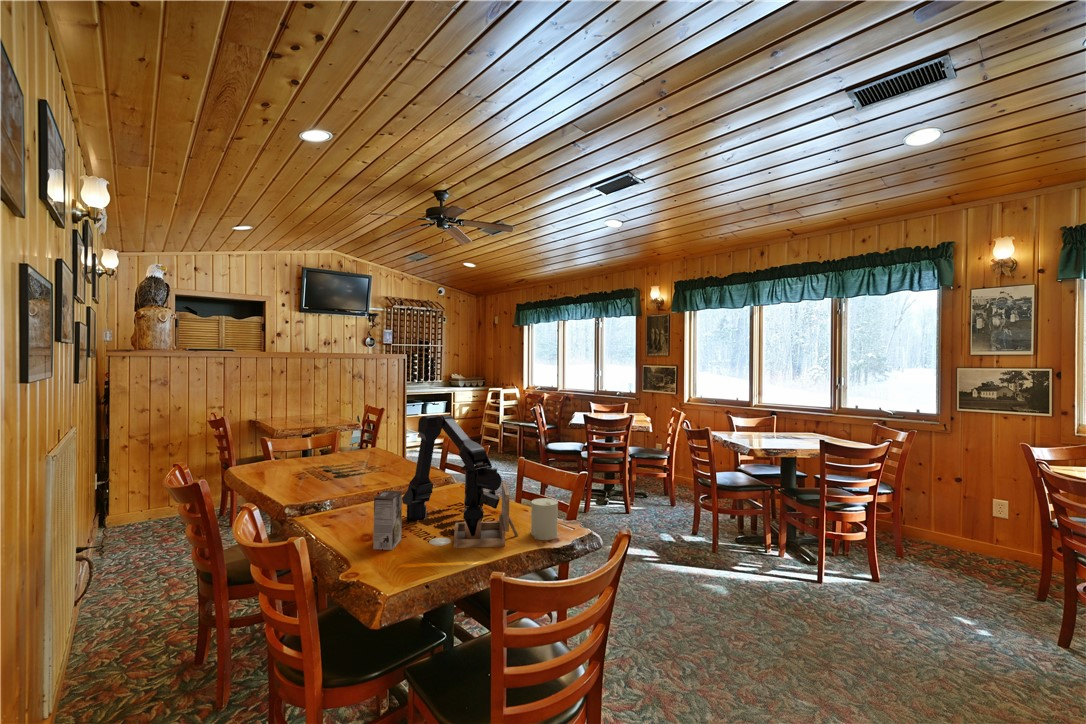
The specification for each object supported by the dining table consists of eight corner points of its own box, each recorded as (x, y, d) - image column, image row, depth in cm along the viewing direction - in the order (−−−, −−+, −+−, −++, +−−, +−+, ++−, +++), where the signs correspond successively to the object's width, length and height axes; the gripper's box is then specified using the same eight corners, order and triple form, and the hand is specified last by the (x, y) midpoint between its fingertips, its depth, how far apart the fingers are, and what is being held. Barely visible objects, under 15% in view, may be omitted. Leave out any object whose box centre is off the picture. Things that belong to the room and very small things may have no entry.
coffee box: (382, 539, 168) (383, 490, 168) (401, 540, 168) (402, 490, 168) (372, 549, 159) (373, 497, 159) (392, 550, 159) (393, 498, 159)
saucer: (427, 548, 161) (427, 545, 161) (429, 540, 168) (429, 538, 168) (450, 547, 162) (450, 545, 162) (451, 539, 169) (451, 537, 169)
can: (539, 542, 168) (540, 505, 168) (525, 533, 176) (526, 498, 176) (563, 537, 173) (563, 501, 173) (548, 529, 181) (548, 495, 181)
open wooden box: (453, 552, 159) (454, 496, 159) (455, 531, 178) (456, 481, 178) (522, 549, 162) (522, 494, 162) (516, 529, 181) (517, 480, 181)
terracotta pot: (463, 540, 166) (463, 519, 166) (463, 534, 172) (464, 513, 172) (482, 540, 167) (482, 518, 167) (482, 534, 173) (482, 513, 173)
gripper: (499, 492, 161) (498, 541, 161) (497, 478, 180) (496, 523, 180) (463, 492, 160) (463, 543, 160) (464, 479, 178) (464, 524, 178)
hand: (473, 532), depth 169 cm, fingers closed on terracotta pot, 5 cm apart
